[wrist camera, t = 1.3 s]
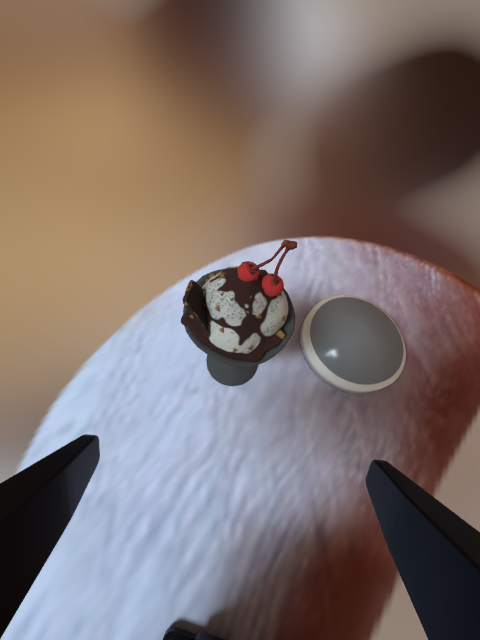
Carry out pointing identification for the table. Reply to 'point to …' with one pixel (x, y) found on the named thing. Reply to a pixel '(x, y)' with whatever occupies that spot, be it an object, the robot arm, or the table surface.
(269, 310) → the sundae
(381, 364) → the round mirror
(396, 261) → the table surface
